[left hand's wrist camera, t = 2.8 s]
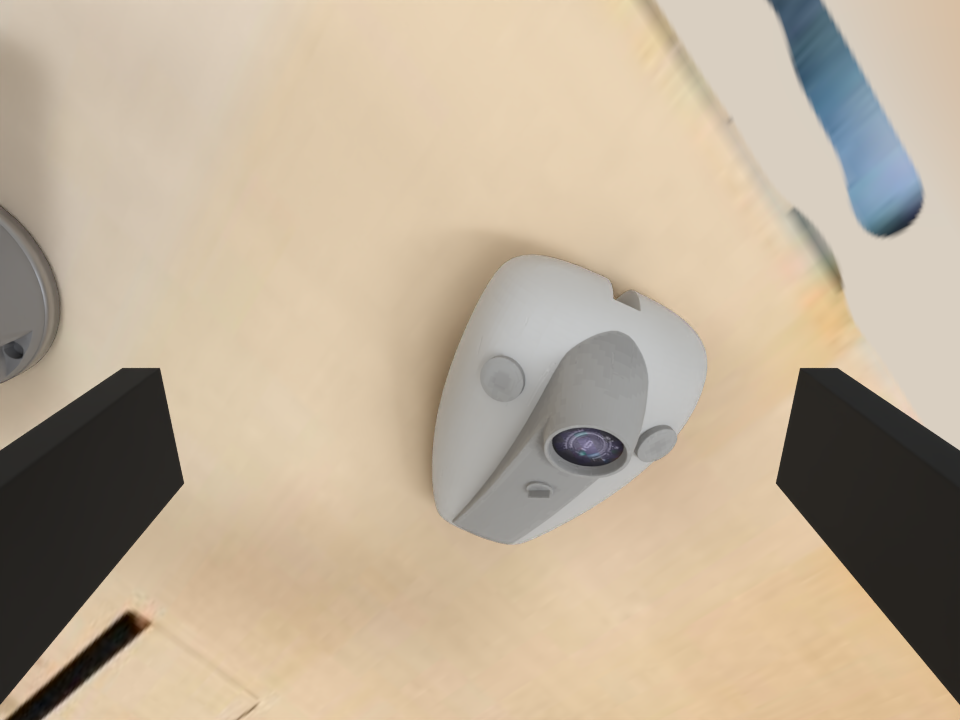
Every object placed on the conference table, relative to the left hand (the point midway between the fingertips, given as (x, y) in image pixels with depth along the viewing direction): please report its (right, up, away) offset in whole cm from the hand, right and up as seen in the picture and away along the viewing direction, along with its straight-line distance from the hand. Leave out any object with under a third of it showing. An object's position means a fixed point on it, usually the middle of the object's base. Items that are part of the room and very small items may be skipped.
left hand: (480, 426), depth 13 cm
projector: (+5, -2, +35) cm, 35 cm away
